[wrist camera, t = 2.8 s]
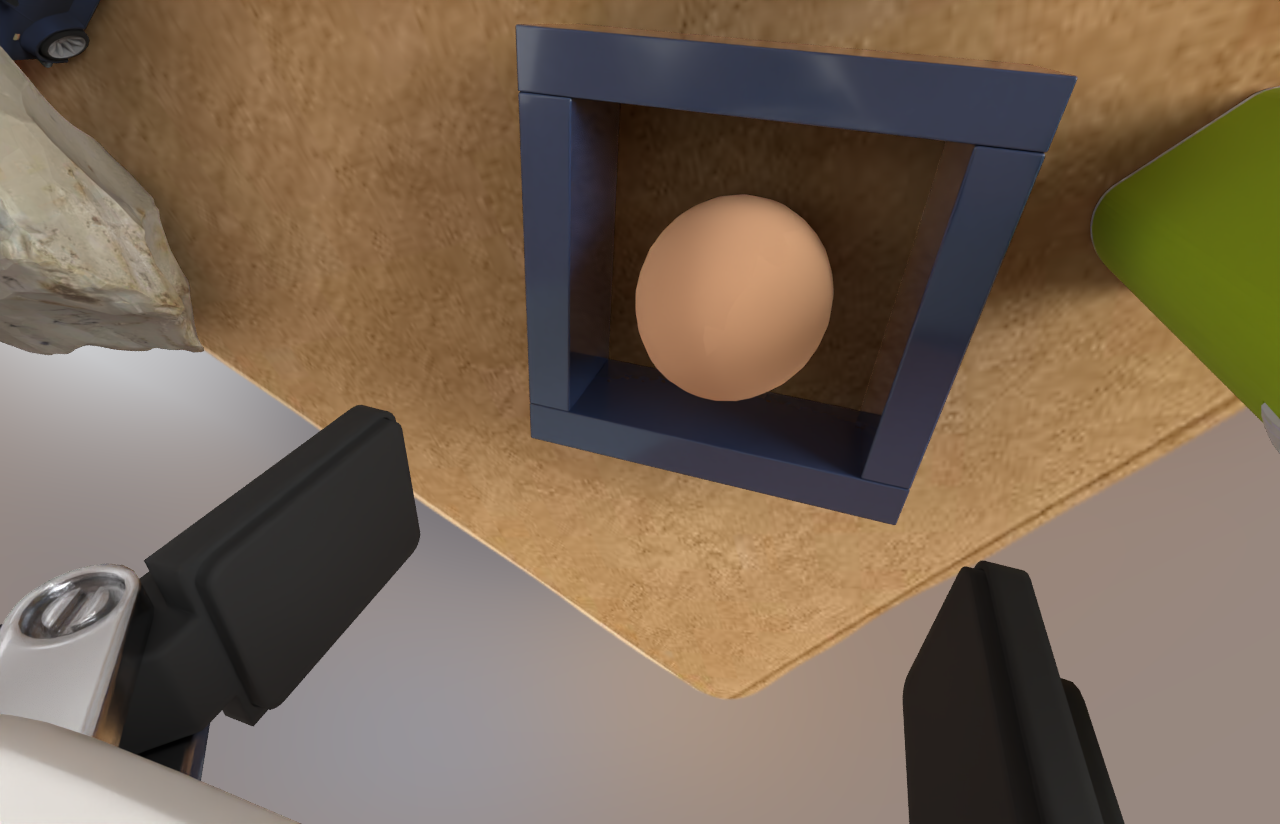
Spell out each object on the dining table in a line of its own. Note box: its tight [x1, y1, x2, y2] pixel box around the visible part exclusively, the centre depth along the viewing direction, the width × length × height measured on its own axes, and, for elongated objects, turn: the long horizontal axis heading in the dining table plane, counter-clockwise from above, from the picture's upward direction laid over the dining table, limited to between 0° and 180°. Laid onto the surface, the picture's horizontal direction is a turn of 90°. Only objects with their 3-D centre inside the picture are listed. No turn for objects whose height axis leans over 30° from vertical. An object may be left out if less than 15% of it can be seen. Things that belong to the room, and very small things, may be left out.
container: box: [516, 24, 1077, 525], centre depth 20 cm, size 14×14×4 cm
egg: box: [635, 194, 834, 401], centre depth 19 cm, size 6×6×8 cm
